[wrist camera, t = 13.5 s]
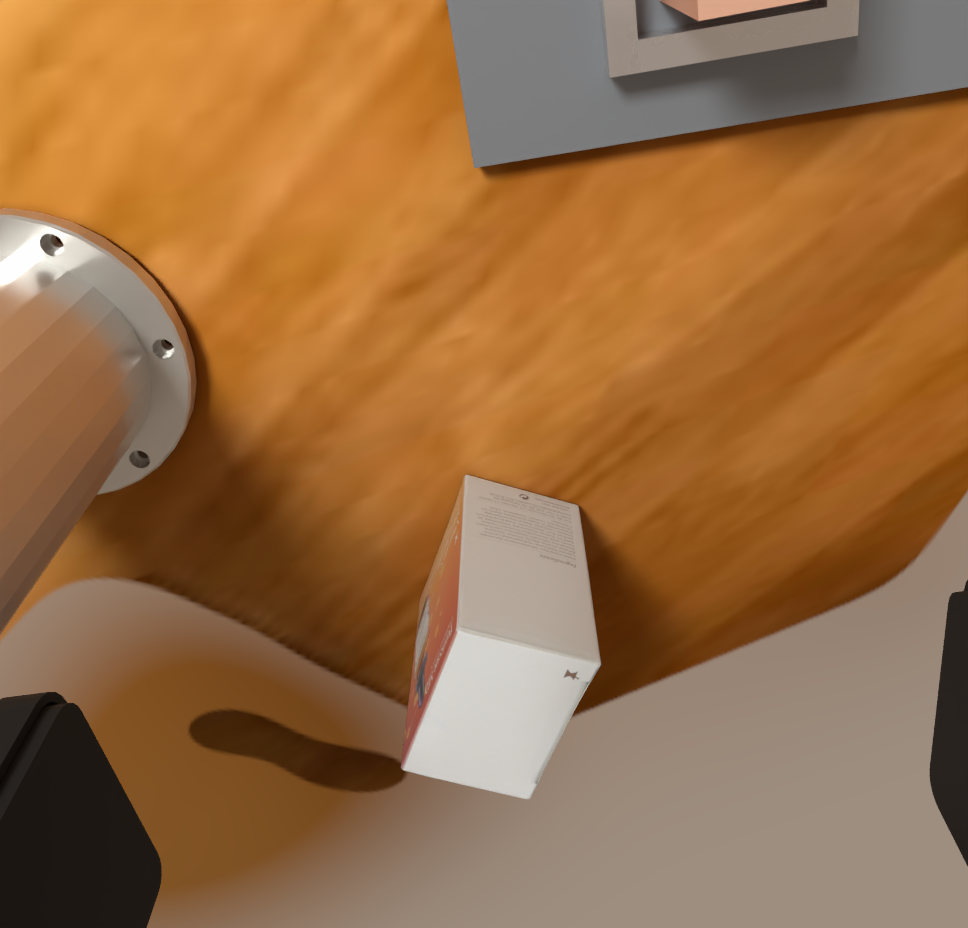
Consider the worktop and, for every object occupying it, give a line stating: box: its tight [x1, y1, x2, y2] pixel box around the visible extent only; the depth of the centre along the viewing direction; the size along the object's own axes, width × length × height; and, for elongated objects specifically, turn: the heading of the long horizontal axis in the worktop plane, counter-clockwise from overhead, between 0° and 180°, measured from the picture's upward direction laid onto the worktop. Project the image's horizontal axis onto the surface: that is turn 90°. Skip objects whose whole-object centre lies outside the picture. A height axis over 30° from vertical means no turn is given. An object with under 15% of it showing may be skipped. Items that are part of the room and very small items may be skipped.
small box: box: [401, 475, 601, 799], centre depth 39 cm, size 8×6×10 cm
